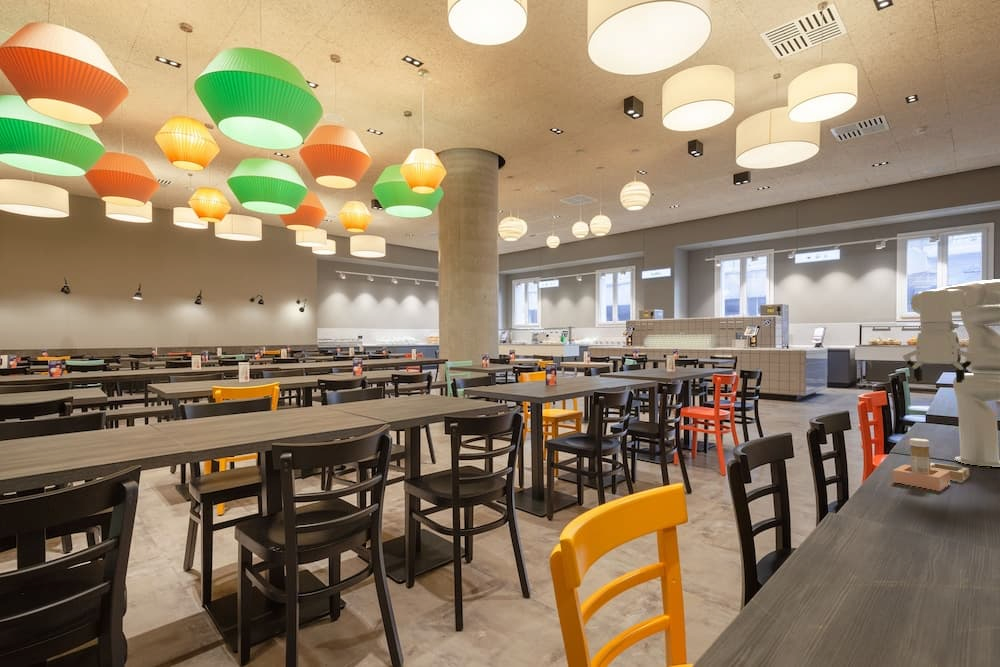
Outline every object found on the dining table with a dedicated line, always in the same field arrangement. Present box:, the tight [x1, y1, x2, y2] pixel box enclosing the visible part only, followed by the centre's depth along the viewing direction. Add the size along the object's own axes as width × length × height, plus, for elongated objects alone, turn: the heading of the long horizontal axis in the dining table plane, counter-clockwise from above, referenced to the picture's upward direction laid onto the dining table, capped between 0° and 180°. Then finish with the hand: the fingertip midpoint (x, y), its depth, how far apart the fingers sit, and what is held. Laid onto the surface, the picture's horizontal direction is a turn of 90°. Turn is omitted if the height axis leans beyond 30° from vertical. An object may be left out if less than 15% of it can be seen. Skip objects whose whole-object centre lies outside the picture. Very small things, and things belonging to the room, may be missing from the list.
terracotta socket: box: [892, 463, 951, 492], centre depth 144 cm, size 11×11×4 cm
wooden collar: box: [930, 462, 971, 483], centre depth 151 cm, size 9×9×3 cm
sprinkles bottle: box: [909, 438, 931, 474], centre depth 145 cm, size 5×5×13 cm
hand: (938, 381), depth 152 cm, fingers open, 9 cm apart
